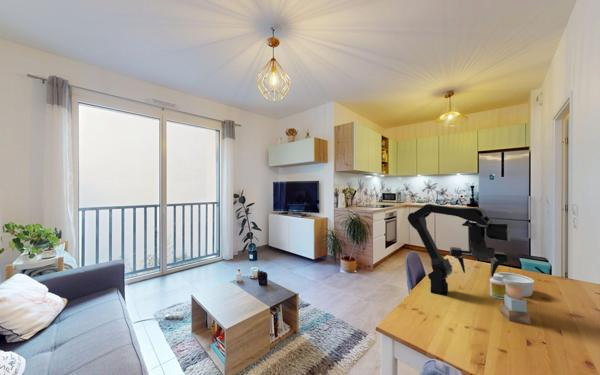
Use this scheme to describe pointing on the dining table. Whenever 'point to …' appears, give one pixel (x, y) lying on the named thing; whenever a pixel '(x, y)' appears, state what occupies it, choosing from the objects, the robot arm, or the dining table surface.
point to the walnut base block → (515, 315)
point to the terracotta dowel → (514, 292)
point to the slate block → (515, 304)
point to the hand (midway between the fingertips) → (477, 274)
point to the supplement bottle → (497, 286)
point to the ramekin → (519, 282)
